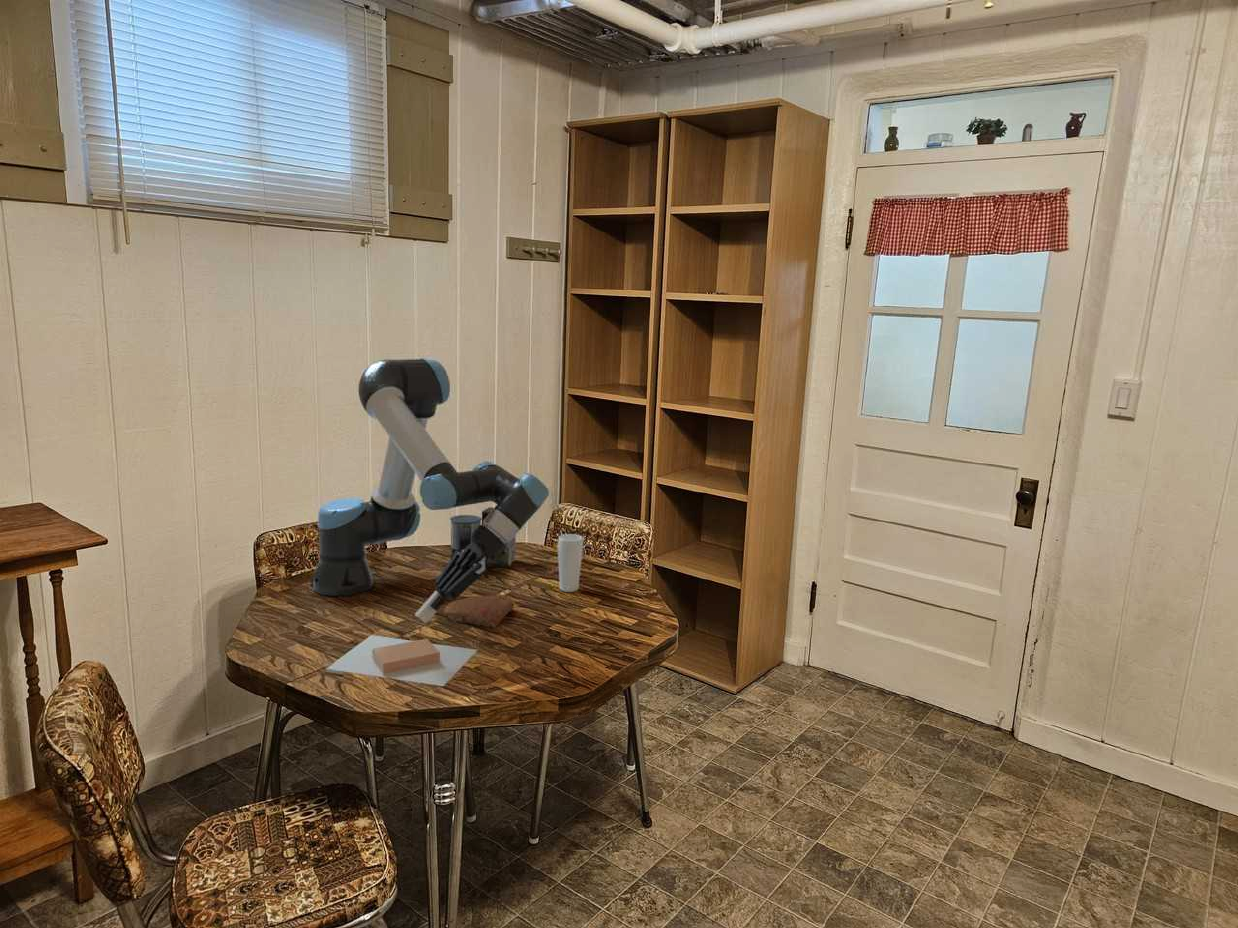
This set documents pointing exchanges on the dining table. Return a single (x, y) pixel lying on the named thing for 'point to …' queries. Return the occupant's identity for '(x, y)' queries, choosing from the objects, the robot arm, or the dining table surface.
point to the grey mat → (431, 674)
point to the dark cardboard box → (509, 549)
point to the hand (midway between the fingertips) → (420, 618)
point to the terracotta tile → (405, 656)
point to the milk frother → (466, 534)
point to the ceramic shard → (479, 610)
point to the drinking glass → (569, 561)
